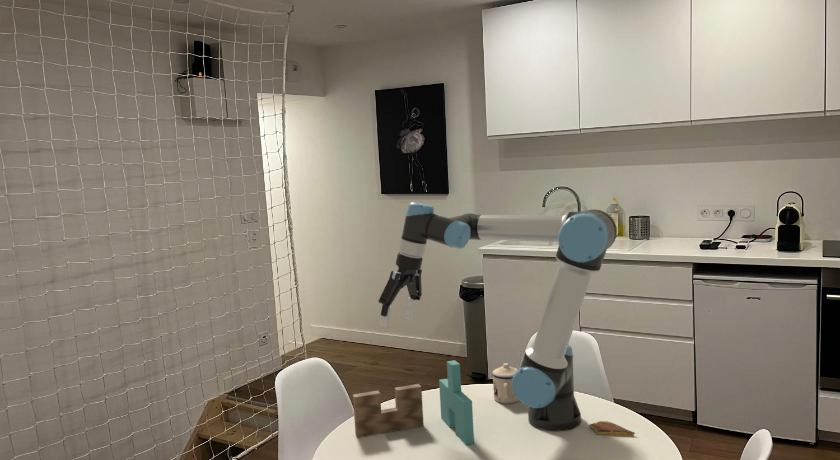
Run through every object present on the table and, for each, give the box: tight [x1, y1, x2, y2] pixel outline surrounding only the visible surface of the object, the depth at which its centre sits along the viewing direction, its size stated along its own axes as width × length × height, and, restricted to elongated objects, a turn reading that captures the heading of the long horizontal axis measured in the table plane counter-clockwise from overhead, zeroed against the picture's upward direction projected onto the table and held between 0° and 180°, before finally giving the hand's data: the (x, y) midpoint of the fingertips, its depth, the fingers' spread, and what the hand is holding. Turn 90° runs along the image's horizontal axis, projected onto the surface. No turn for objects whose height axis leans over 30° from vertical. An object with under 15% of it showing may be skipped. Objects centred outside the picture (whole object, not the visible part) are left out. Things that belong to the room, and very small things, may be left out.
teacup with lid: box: [492, 362, 520, 404], centre depth 201 cm, size 12×9×12 cm
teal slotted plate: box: [438, 359, 475, 445], centre depth 180 cm, size 20×2×20 cm, turn 18°
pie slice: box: [588, 420, 636, 437], centre depth 173 cm, size 11×8×2 cm
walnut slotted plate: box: [352, 383, 424, 439], centre depth 183 cm, size 20×2×12 cm, turn 108°
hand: (395, 322), depth 187 cm, fingers open, 13 cm apart
